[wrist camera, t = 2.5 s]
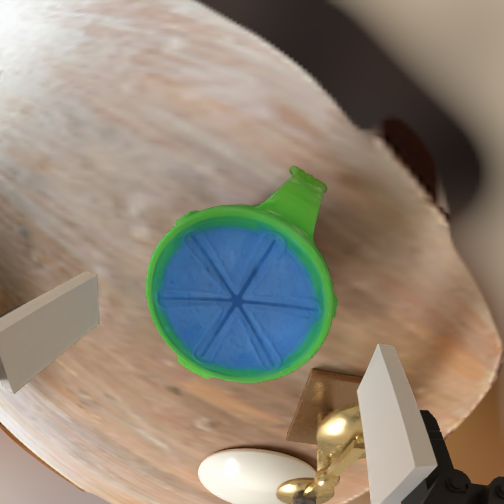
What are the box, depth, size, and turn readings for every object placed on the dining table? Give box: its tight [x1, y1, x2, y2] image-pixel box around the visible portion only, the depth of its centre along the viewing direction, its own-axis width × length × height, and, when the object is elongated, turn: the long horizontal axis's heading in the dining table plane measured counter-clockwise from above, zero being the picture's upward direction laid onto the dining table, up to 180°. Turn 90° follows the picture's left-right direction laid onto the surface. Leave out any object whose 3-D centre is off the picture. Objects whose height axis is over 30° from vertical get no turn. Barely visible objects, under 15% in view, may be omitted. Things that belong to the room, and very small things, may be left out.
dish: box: [198, 448, 317, 504], centre depth 33 cm, size 17×17×1 cm
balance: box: [276, 369, 366, 504], centre depth 23 cm, size 6×20×11 cm, turn 170°
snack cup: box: [146, 166, 337, 383], centre depth 21 cm, size 16×10×10 cm
